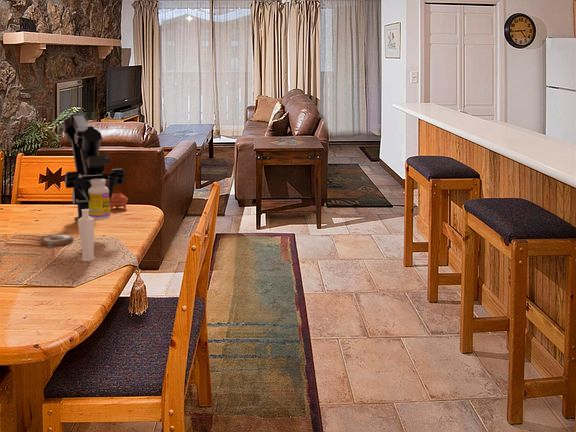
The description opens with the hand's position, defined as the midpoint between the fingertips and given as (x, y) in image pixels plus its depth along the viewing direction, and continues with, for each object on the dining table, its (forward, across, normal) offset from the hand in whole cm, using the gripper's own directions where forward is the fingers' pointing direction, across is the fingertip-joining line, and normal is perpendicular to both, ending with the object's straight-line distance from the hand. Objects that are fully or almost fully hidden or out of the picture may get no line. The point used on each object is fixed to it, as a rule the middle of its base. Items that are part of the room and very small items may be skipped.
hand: (99, 199), depth 209 cm
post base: (+8, -14, +11) cm, 19 cm away
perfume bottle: (+25, -8, -6) cm, 27 cm away
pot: (-20, +15, +40) cm, 47 cm away
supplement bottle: (+4, 0, +6) cm, 7 cm away
